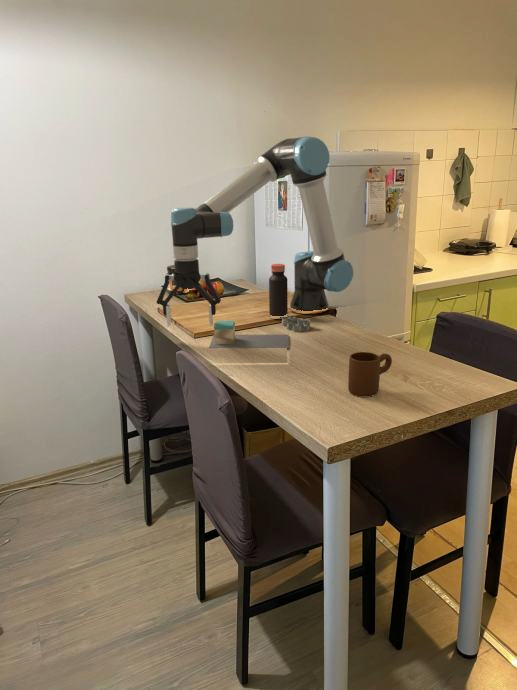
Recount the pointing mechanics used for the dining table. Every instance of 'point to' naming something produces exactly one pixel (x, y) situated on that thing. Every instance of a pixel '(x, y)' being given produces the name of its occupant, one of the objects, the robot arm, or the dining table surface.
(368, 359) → the mug
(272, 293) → the bottle
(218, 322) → the maple cube
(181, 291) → the supplement container
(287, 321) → the egg carton
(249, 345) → the rubber mat
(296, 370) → the dining table surface
